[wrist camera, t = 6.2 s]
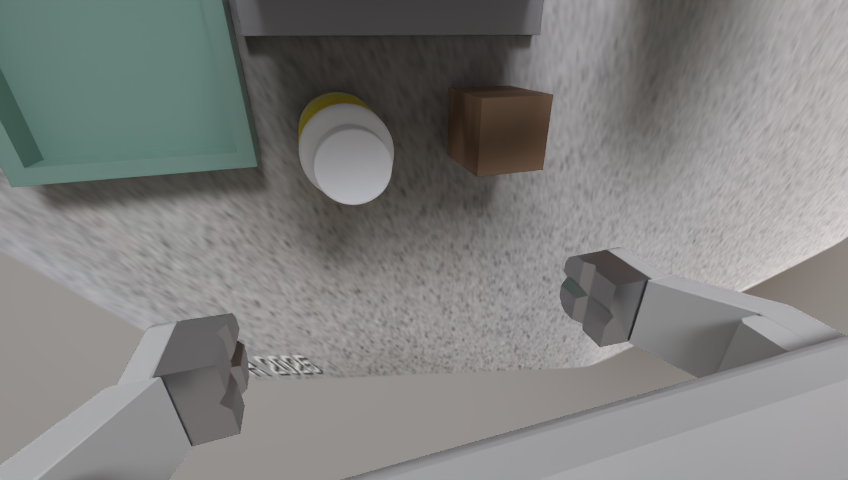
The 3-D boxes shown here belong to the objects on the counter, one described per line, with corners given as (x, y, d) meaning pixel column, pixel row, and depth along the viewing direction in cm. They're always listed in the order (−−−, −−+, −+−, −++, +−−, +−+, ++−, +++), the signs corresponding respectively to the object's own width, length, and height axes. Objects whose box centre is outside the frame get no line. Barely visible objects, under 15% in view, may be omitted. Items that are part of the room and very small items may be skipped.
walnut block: (448, 88, 29) (481, 98, 23) (509, 85, 30) (553, 94, 25) (447, 154, 31) (477, 176, 26) (503, 149, 32) (542, 169, 27)
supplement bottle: (280, 122, 26) (273, 158, 18) (343, 73, 26) (364, 87, 18) (332, 180, 29) (346, 236, 21) (388, 137, 29) (426, 175, 20)
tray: (-97, -98, 18) (-151, -117, 16) (211, -78, 21) (202, -92, 19) (37, 174, 24) (11, 187, 21) (260, 156, 27) (257, 166, 25)
